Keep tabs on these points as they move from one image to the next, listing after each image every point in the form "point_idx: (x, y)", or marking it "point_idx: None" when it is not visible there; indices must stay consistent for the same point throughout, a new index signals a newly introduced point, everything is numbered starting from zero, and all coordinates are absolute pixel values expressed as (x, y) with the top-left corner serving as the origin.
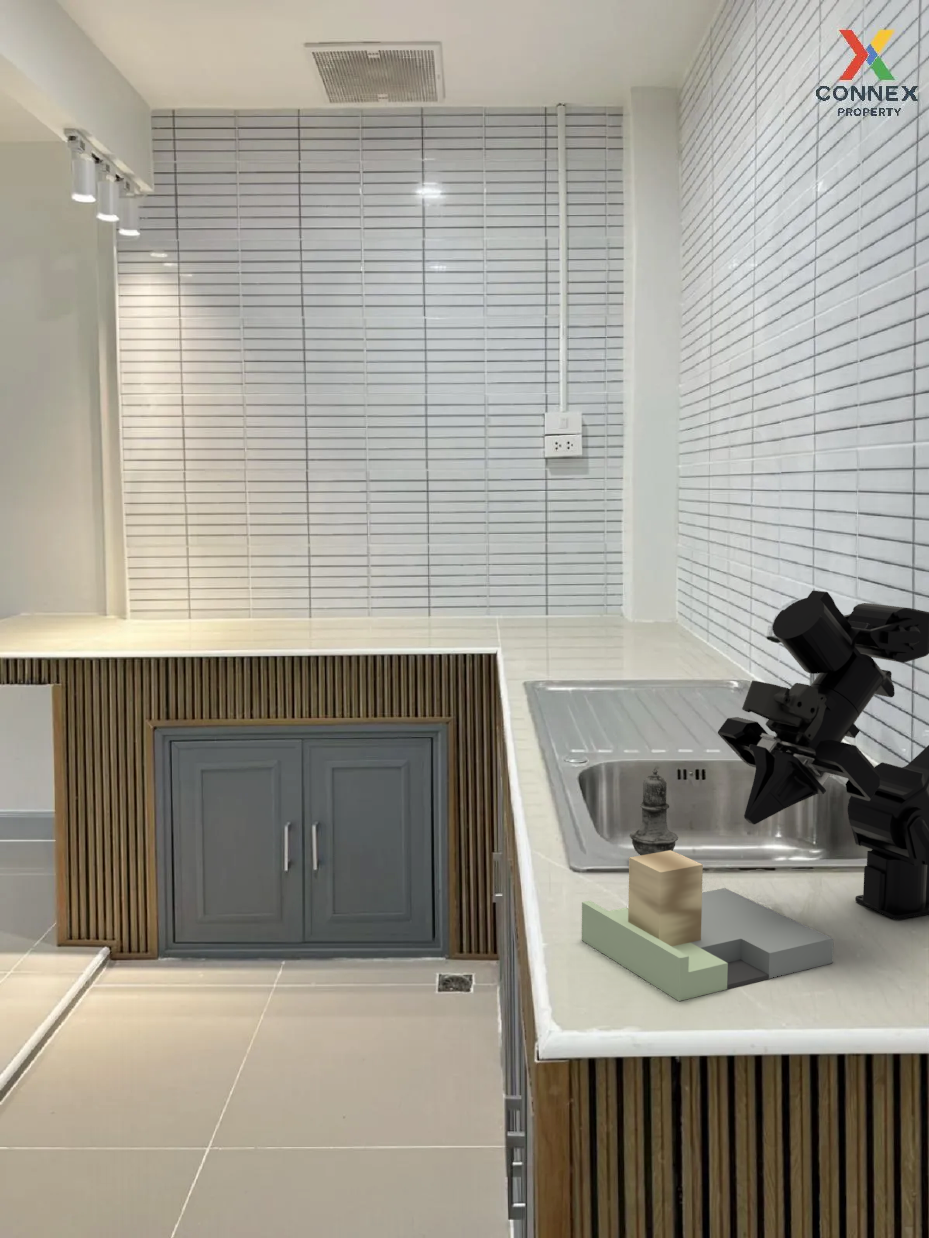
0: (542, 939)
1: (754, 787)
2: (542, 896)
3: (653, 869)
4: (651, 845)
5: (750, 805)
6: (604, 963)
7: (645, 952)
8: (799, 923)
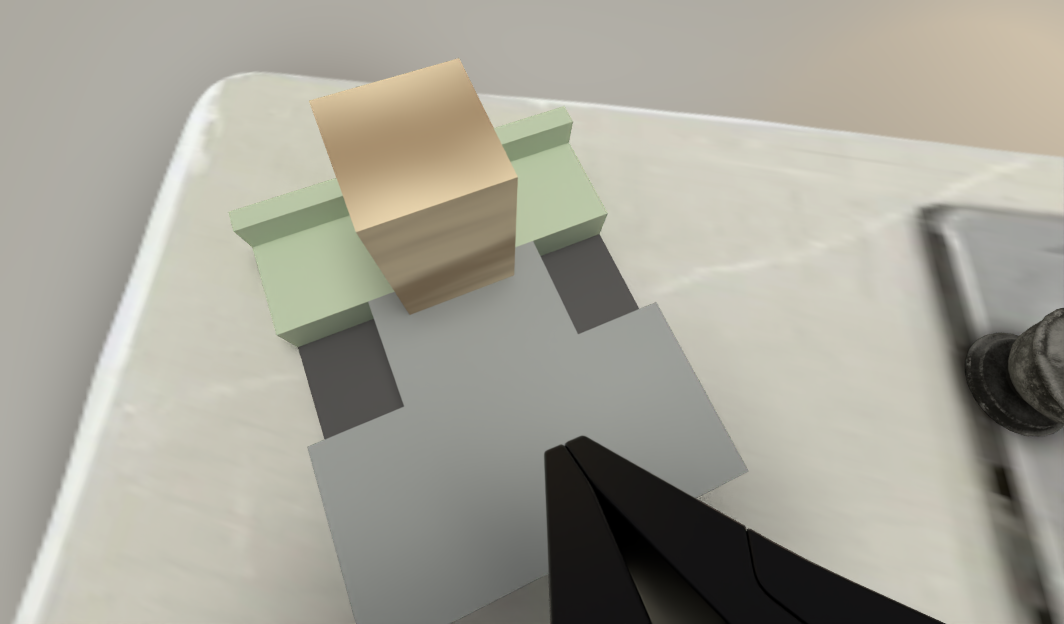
0: (562, 104)
1: (719, 537)
2: (768, 134)
3: (344, 92)
4: (1032, 351)
5: (600, 473)
6: None
7: None
8: (482, 600)
